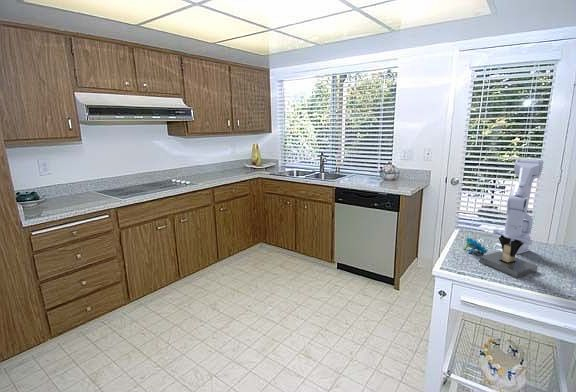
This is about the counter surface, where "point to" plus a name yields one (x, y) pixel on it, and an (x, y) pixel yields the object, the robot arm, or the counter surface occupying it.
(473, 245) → the blue irregular piece
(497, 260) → the gray slab with hole
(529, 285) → the counter surface
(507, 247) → the tan wooden beam
